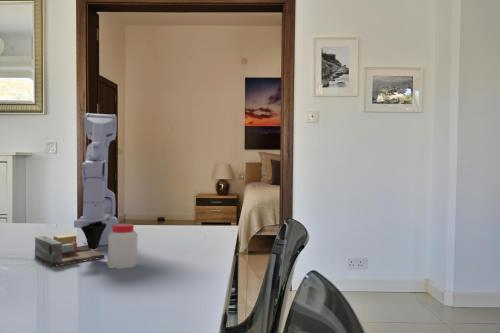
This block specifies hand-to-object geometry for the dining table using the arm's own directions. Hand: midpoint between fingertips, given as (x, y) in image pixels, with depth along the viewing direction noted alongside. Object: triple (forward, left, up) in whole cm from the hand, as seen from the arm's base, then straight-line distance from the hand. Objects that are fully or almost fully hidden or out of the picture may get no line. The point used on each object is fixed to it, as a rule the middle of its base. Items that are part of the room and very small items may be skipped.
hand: (93, 248), depth 114 cm
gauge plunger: (+8, 0, 0) cm, 8 cm away
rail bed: (+4, -5, -3) cm, 7 cm away
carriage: (+5, -8, -1) cm, 9 cm away
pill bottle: (-3, +12, -3) cm, 13 cm away
